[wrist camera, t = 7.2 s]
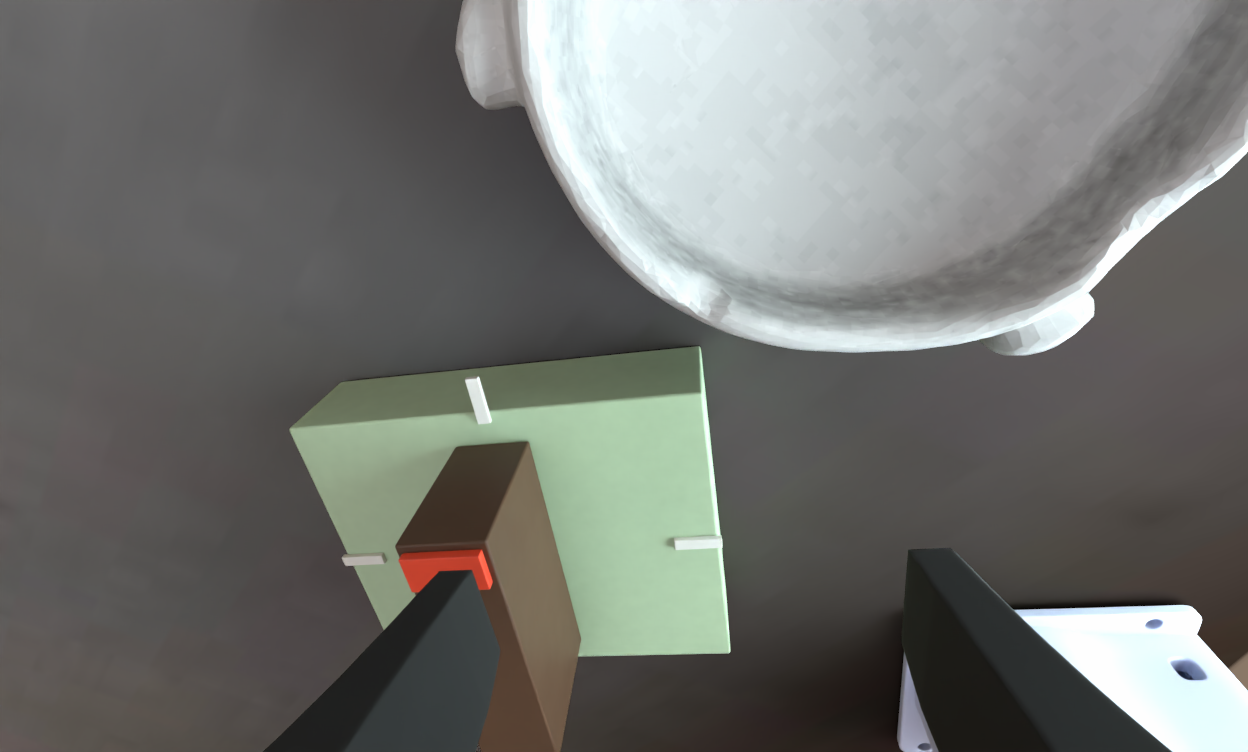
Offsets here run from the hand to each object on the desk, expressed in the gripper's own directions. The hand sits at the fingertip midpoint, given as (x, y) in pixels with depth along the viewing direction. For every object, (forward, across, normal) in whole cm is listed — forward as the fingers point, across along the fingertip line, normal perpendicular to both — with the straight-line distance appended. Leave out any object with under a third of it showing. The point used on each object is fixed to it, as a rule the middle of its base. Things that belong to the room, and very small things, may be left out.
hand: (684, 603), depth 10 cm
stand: (+9, +6, +4) cm, 12 cm away
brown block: (+6, +6, +5) cm, 10 cm away
